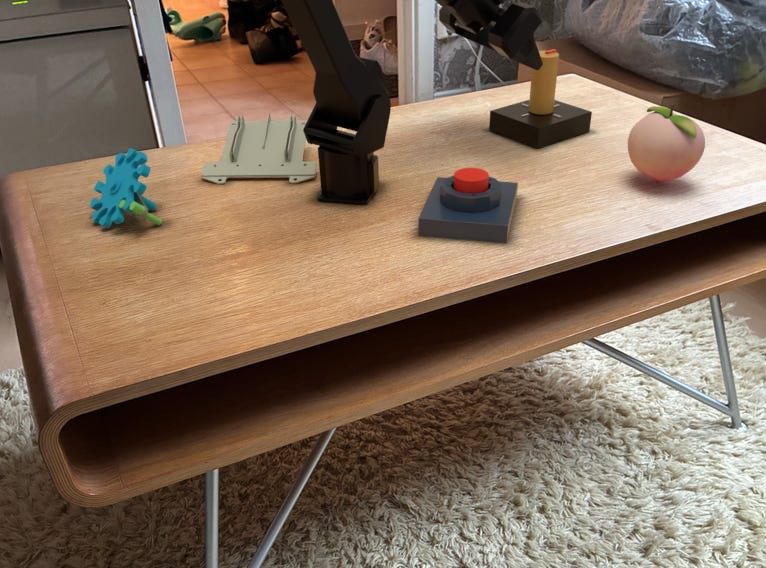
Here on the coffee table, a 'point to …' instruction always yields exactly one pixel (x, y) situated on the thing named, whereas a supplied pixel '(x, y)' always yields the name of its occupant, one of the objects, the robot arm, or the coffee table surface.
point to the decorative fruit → (665, 144)
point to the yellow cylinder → (544, 84)
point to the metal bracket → (262, 152)
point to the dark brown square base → (540, 123)
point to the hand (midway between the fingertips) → (522, 59)
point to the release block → (469, 212)
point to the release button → (471, 180)
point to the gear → (123, 191)
